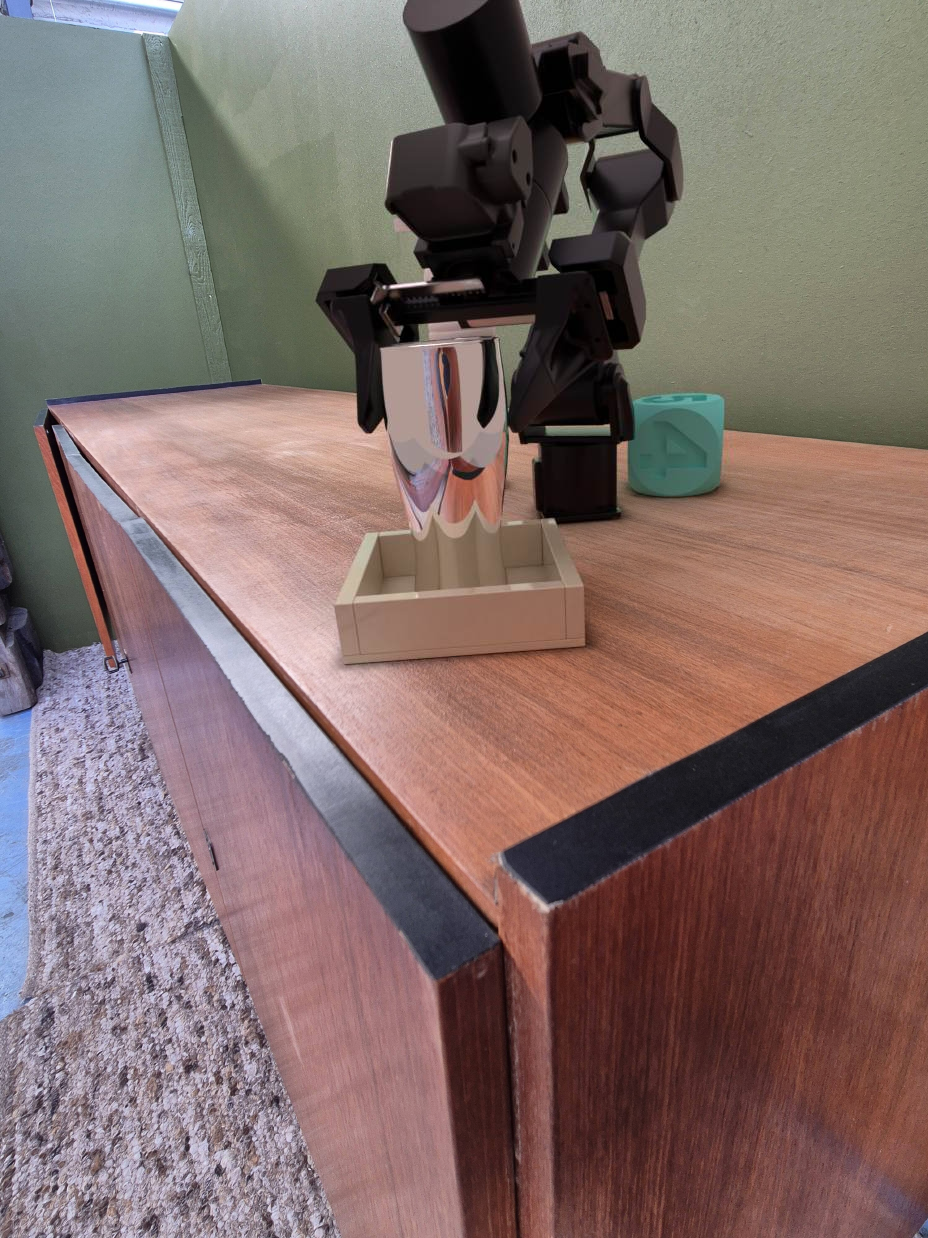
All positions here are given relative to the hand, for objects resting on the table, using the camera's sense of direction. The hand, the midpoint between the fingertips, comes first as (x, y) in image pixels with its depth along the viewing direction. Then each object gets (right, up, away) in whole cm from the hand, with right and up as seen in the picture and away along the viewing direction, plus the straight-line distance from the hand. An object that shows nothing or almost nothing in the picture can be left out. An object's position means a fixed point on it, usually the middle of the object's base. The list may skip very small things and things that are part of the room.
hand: (434, 428), depth 38 cm
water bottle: (+2, +3, +36) cm, 36 cm away
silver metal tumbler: (+2, -9, +6) cm, 11 cm away
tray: (+2, -10, +6) cm, 11 cm away
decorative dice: (+22, +2, +29) cm, 36 cm away
